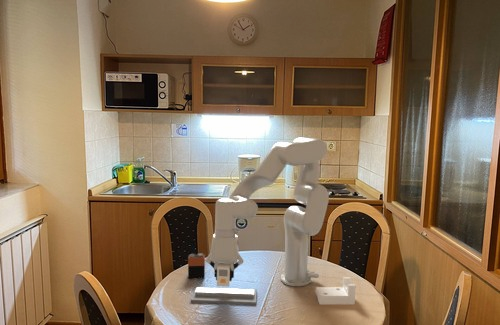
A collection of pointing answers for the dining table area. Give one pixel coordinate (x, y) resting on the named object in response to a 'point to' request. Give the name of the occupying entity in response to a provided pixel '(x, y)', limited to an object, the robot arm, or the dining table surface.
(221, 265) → the block
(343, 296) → the bracket
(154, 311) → the dining table surface
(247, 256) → the dining table surface
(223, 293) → the rail
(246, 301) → the mounting plate
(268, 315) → the dining table surface
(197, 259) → the battery
